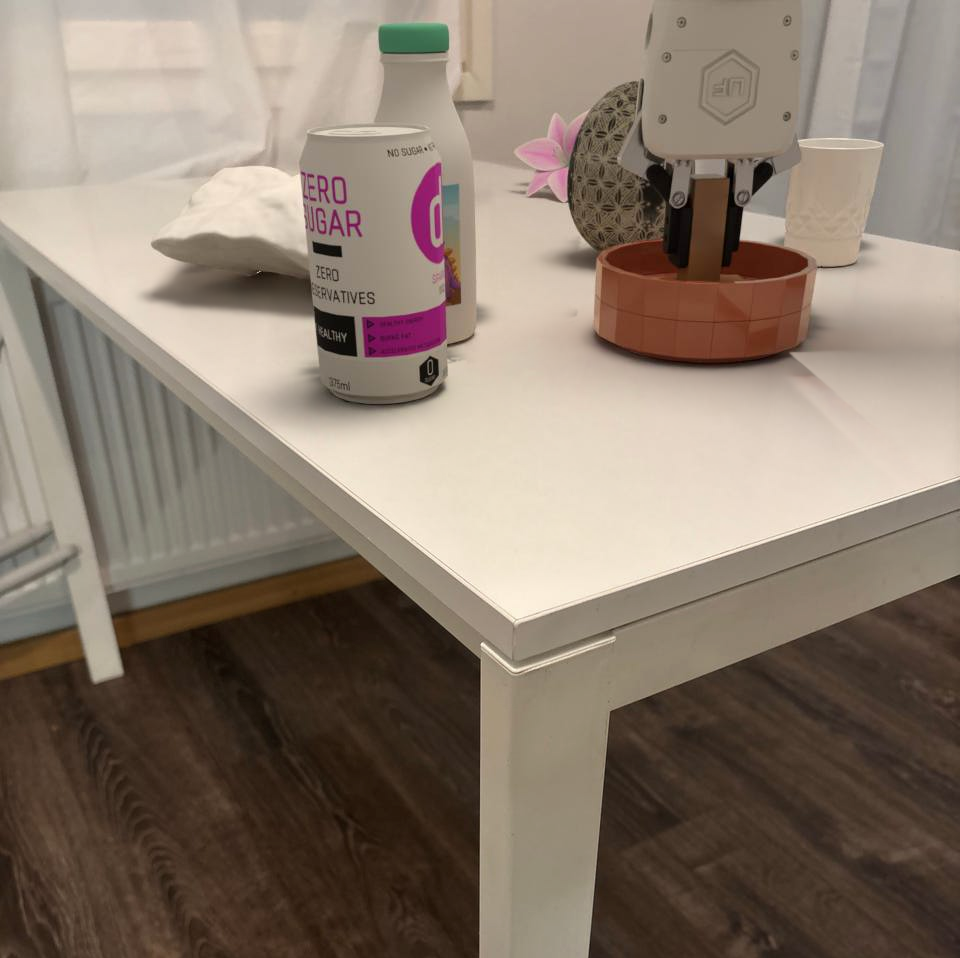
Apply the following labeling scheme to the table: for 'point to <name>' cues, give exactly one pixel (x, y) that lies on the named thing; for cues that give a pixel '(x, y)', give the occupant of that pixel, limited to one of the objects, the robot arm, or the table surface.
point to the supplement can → (376, 259)
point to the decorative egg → (612, 177)
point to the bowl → (704, 303)
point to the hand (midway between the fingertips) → (698, 261)
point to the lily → (551, 156)
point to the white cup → (831, 198)
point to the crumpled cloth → (242, 224)
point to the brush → (707, 229)
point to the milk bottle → (427, 102)
